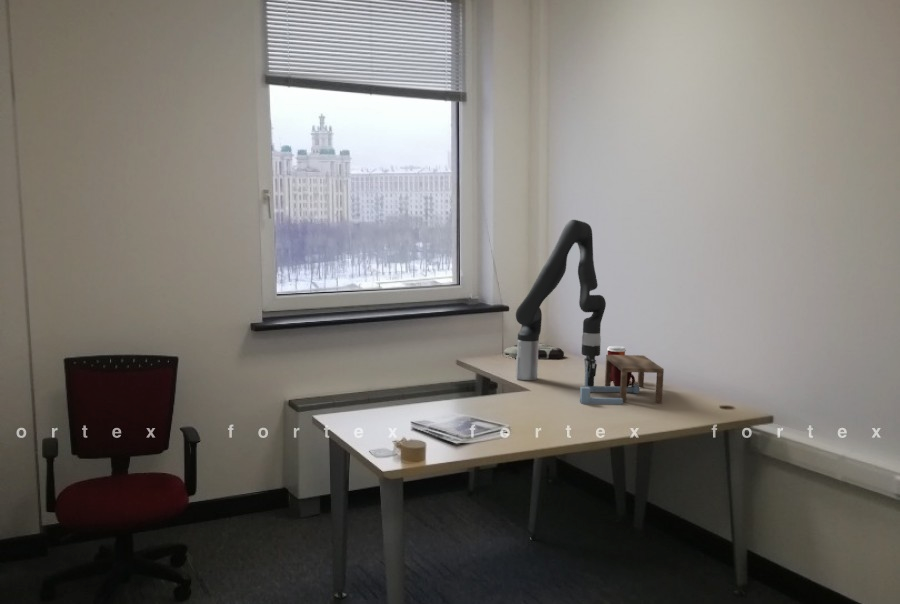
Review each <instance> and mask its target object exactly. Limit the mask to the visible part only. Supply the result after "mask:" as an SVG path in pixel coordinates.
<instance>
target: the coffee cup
mask: <svg viewBox="0 0 900 604" xmlns="http://www.w3.org/2000/svg"><path fill="white" fill-rule="evenodd" d="M606 350H607V355H626V351H627V350H626V347H625V346H622V345H609V346H607V348H606ZM613 365H614V364H612V365H611V382H612V381H613V376H612V366H613Z"/></svg>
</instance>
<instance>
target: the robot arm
mask: <svg viewBox="0 0 900 604" xmlns="http://www.w3.org/2000/svg"><path fill="white" fill-rule="evenodd" d="M561 231H562V232H561V234H560V236H559V237H558V240H557V242H556V244H555V246H554V248H553V250H552V252H551V253H550V255H549V257H548V259H547V261H546V262H545V263H544V265H543V267H542V268H541V270H540V272H539V274H538V275H537V278H536V279H535V281H534V283H533V284H532V287H531V289H530V290H529V292H528V293H527V295H526V296H525V298H524V299H523V301H522V302H521V303H520V305H519V306H518V307H517V309H516V310H515V311H516V312H515V319H516V321H517V323H519V325H521V327H520V330H519V332H518V333H517V344H516V345H517V356H516V359H515V360H516V362H515V377H516V380H519V381H537V380H538V376H539V375H538V374H539V373H538V370H539V369H538V367H539V366H538V365H539V359H538V346H539V343H540V342H539V341H540V340H539V339H540V335H541V331H542V330H541V329H542V318H543V315H542V309H541V305H542V304H543V302H544V301H545V300H546V298H547V297H548V296H549V295H551V293H553V291H554V290H555V289H556V288H557V287H558V285H559V284H560V282H561V281H562V278H563V277H564V276H565V273H566V270H567V264H568V263H567V262H568V255H569V253H570V252H571V250H572V248H573V246H574V244H577V246H578V249H579V262H578V265H577V267H578V268H577V275H578V276H577V277H578V280H579V287H580V291H579V301H578V302H579V303H578V304H579V305H578V306H579V308H580V310H581V311H582V312H583V313H591V316H589V317H587V318H584V320H583V321H582V336H581V338H582V339H581V355H582V356H585V358H584V367H585V366H586V367H587V371H588V386H593V384H594V385H595V377H596V375H597V374H596V373H597V366H598V364H597V359H596V357H599V356H601V340H602V339H601V338H602V336H601V324H602V319H603V316H604V314H605V310H606V305H607V303H606V298H605V297H604V296H603V295H601V294H590V292H591V291H595V290H596V289H598V285H599V284H598V279H597V275H596V269H595V261H594V246H593V238H594V237H593V230H592V227H591V225H590V224H589V223H587V222H585V221H581V220H578V219H571V220H569V221H568V222H567V223H566V224H565V225H564V227H563V229H562V230H561ZM589 368H590V369H589ZM591 372H593V373H591Z"/></svg>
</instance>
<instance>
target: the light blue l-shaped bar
mask: <svg viewBox="0 0 900 604" xmlns="http://www.w3.org/2000/svg"><path fill="white" fill-rule="evenodd" d="M589 369H590V368H589ZM591 373H593V372H591ZM584 387H589V388H590V393H594V392H596V393H597V392H598V393H600V392H601V393H620V386H614V385H613V386H612V385H611V386H605V385H595V383H594V384H593V386H588V371H587V367H586V366H585V365H584ZM626 393H632V394H640V388H639V385H638V383H634V384H633V385H631V386H628V387H627V391H626Z"/></svg>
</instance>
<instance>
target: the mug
mask: <svg viewBox="0 0 900 604" xmlns="http://www.w3.org/2000/svg"><path fill="white" fill-rule="evenodd" d="M612 376H613V382H612V383H613V386H620V383H621V370H619V369H618V368H617V367H616V366H615V365H613V366H612ZM630 382H631V383H630ZM633 384H636V379H635V376H634V374H633V372H627V387H631V385H633Z"/></svg>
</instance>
